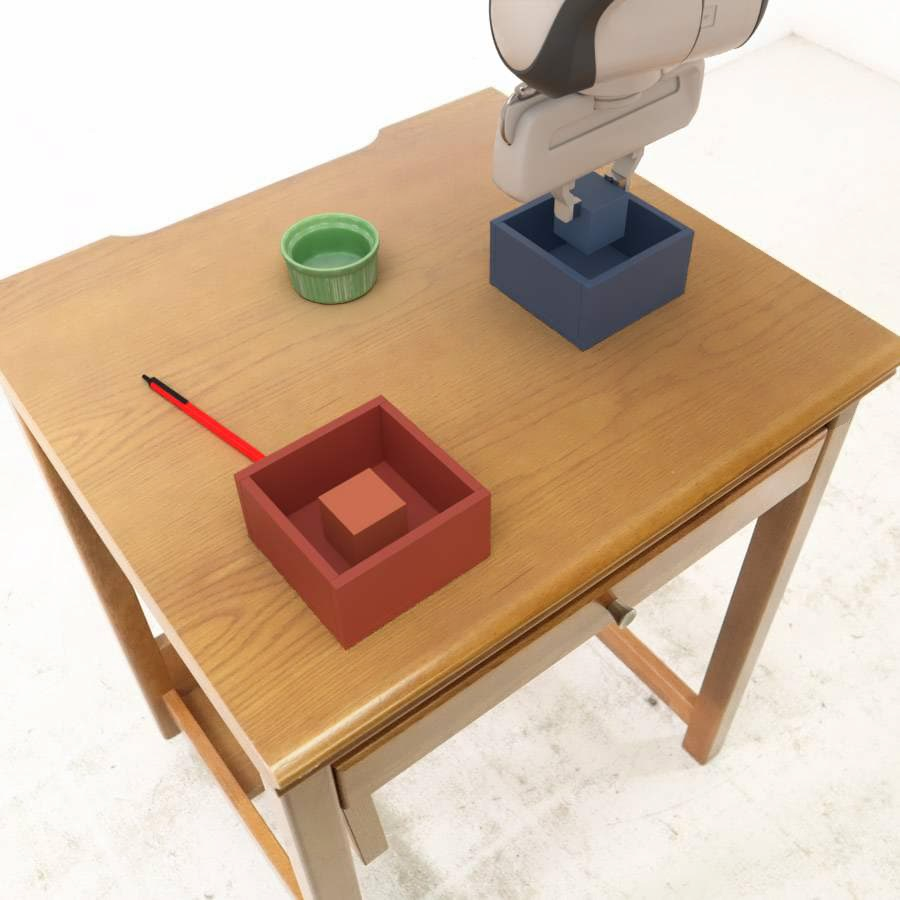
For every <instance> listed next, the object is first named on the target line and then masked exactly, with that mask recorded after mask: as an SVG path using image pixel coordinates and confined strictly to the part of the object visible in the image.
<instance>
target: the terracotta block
mask: <svg viewBox="0 0 900 900" xmlns="http://www.w3.org/2000/svg"><path fill="white" fill-rule="evenodd" d="M318 501H319V507H320V513H321V519H322V525H323V531H324V536H325V538H326V539H327V540H328V541H329V543H330V544H331V545H332V546H333V547H334V548H335V549H336V550H337V551H338V552H339V553H340V554H341V555H342V557H343V558H344V559H345V560H346V561H347V562H348V563H349V564H350V565H351V566H352V567H354V566H356V565H357V564H359V563H360V562H362V561H364V560H365V559H367V558H369V557H370V556H372V555H373V554H375V553H377V552H378V551H380V550H382V549H383V548H385V547H386V546H388V545H390V544H391V543H393V542H395V541H396V540H398V539H399V538H401V537H403V536H404V535H406V534H408V533H409V532H408V519H407V506H406V503H405V502H404V501H403V500H402V499H401V498H400V497H399V496H398V495H397V494H396V493H395V492H394V491H393V490H392V489H391V488H390V487H389V486H388V485H387V484H386V483H385V482H384V481H382V480H381V479H380V478H379V477H378V476H377V475H376V474H375V473H374V472H373V471H372V470H371V469H370V468H368V469H366V470H365V471H363V472H361V473H359V474H358V475H356V476H354V477H352V478H351V479H349V480H347V481H345V482H344V483H342V484H340V485H338V486H337V487H335V488H333V489H331V490H330V491H328V492H326V493H324V494H323V495H321V496H319V497H318Z"/></svg>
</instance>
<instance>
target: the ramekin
mask: <svg viewBox="0 0 900 900" xmlns="http://www.w3.org/2000/svg"><path fill="white" fill-rule="evenodd" d="M380 238H381V237H380V233H379V230H378V229H377V228H376V227H375V226H374V225H373V223H371V222H370V221H369V220H367V219H365V218H363V217H360V216H358V215H355V214H351V213H346V212H323V213H318V214H313V215H310V216H307V217H304V218H302V219H300V220H298V221H296V222H295V223H293V224H292V225H291V226H290V227H288V228H287V230H285V232H284V233H283V234H282V237H281V239H280V243H279V246H280V247H279V249H280V253H281V256H282V257H283V260H284V262H285V264H286V268H287V271H288V276H289V278H290V283H291V285H292V287H293V289H294V290H295V292H297V294H298V295H299V296H300V297H302V298H304V299H306V300H308V301H310V302H314V303H317V304H318V303H319V304H325V305H326V304H328V305H335V304H343V303H348V302H351V301H354V300H356V299H359V298H361V297H363V296H364V295H365V294H367V293H368V292H369V291H370V290H371V289H372V288H373V286H374V285H375V283H376V281H377V278H378V254H379V253H378V251H379V249H380V241H381V239H380Z"/></svg>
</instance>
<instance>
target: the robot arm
mask: <svg viewBox="0 0 900 900" xmlns="http://www.w3.org/2000/svg"><path fill="white" fill-rule="evenodd" d="M769 1H770V0H488V21H489V27H490V28H489V29H490V33H491V38H492V42H493V45H494V47H495V51H496V53H497V54H498V57H499V59H500V60H501V62H502V64H503V65H504V66H505V67H506V69H507V70H508V71H510V72H511V73H512V74H513V75H514V76H515V77H516V78H518V79H519V80H520V81H521V82H520V83H519V84H517V85H516V86H515V87H514V90H513V93H512V94H510V95H509V97H508V98H507V99H506V101H505V102H504V103H502V105H501V107H500V111H499V118H498V122H497V126H496V131H495V132H496V134H495V139H494V146H493V153H492V163H491V181H492V182H493V184H494V185H495V187H497V189H498V190H500V191H501V192H502V193H503V194H505V195H506V196H508V197H510V198H512V199H513V200H514V201H516V202H519V203H520V204H526V203H528V202H530V201H532V200H535V199H537V198H539V197H541V196H543V195H545V194H547V193H549V192H551V194H552V196H553V197H554V198H555V205H554V213H555V215H556V217H557V218H559V219H560V220H562V221H563V222H565V223H567V222H569V221H571V220H573V219H575V218H577V217H579V216H580V213H581V211H580V209H581V205H582V200H581V199H579V198H578V197H574V196H573V194H571V193H570V192H569V189H570V190H571V189H573V188H574V187H575V180H576V179H578V178H580V177H582V176H584V175H586V174H589V173H591V172H593V171H595V172H596V171H597V170H599V169H601V168H602V167H605V166H607V165H609V164H612V163H613V164H612V166H611V168H610V169H609V170H608V171H607V172H605V173H603V177H604V179H606V180H607V181H609V182H611V183H613V184H614V185H616V186H617V187H619V188H621V189H623V190H624V191H626V192H630V188H631V179H632V176H633V175H634V173H635V171H636V170H637V168H638V166H639V164H640V162H641V160H642V158H644V155H645V154H644V153H645V147H646V146H649V145H651V144H654V143H655V142H657V141H659V140H661V139H663V138H666V137H668V136H669V135H672V134H674V133H676V132H678V131H680V130H682V129H684V128H687V127H688V126H689V125H690V123H691V122H692V120H693V119H694V117H695V115H697V112H698V109H699V107H700V101H701V98H702V97H701V96H702V92H703V91H702V90H703V84H704V78H705V70H706V69H705V67H706V63H705V62H706V61H705V59H708V58H712V57H715V56H719V55H723V54H725V53H728V52H730V51H732V50H737V49H739V48H741V47H743V46H744V45H745V44H746V43H748V41H749V40H750V39H751V38H752V37H753V35H754V34H755V33H756V31H757V29H758V27H759V26H760V24H761V22H762V20H763V18H764V16H765V13H766V10H767V7H768V5H769Z"/></svg>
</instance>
